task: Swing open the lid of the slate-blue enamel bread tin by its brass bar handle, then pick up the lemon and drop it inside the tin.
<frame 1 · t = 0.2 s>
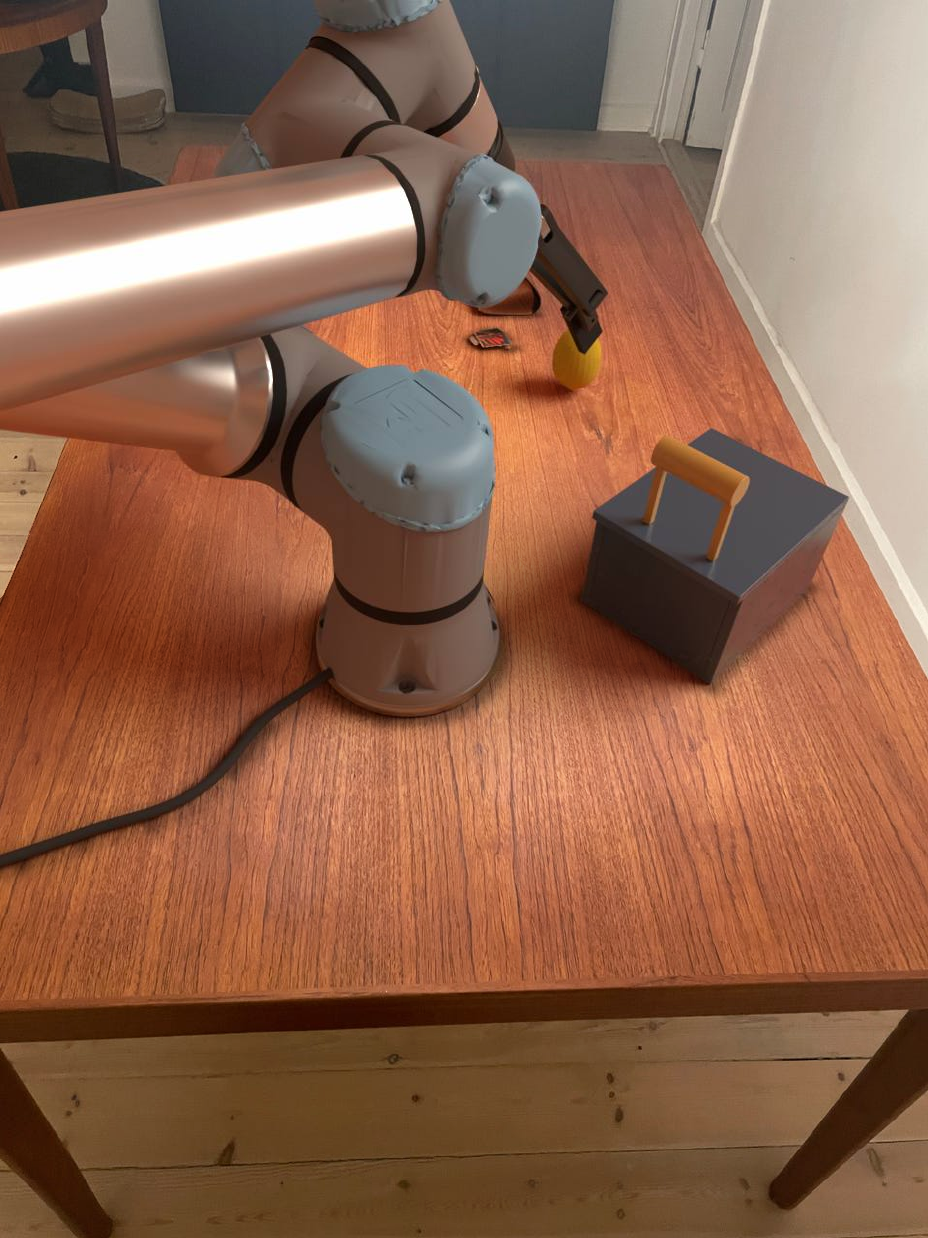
hand: (536, 313, 87), 15 cm above the table, tool tilted 35°, fingers open, 13 cm apart
lemon: (571, 391, 106), on the table
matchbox: (489, 341, 113), on the table
tin lid: (735, 468, 72), point 14 cm above the table, hinge at 0.0°
sunglasses case: (494, 285, 124), on the table
tin: (696, 594, 83), on the table
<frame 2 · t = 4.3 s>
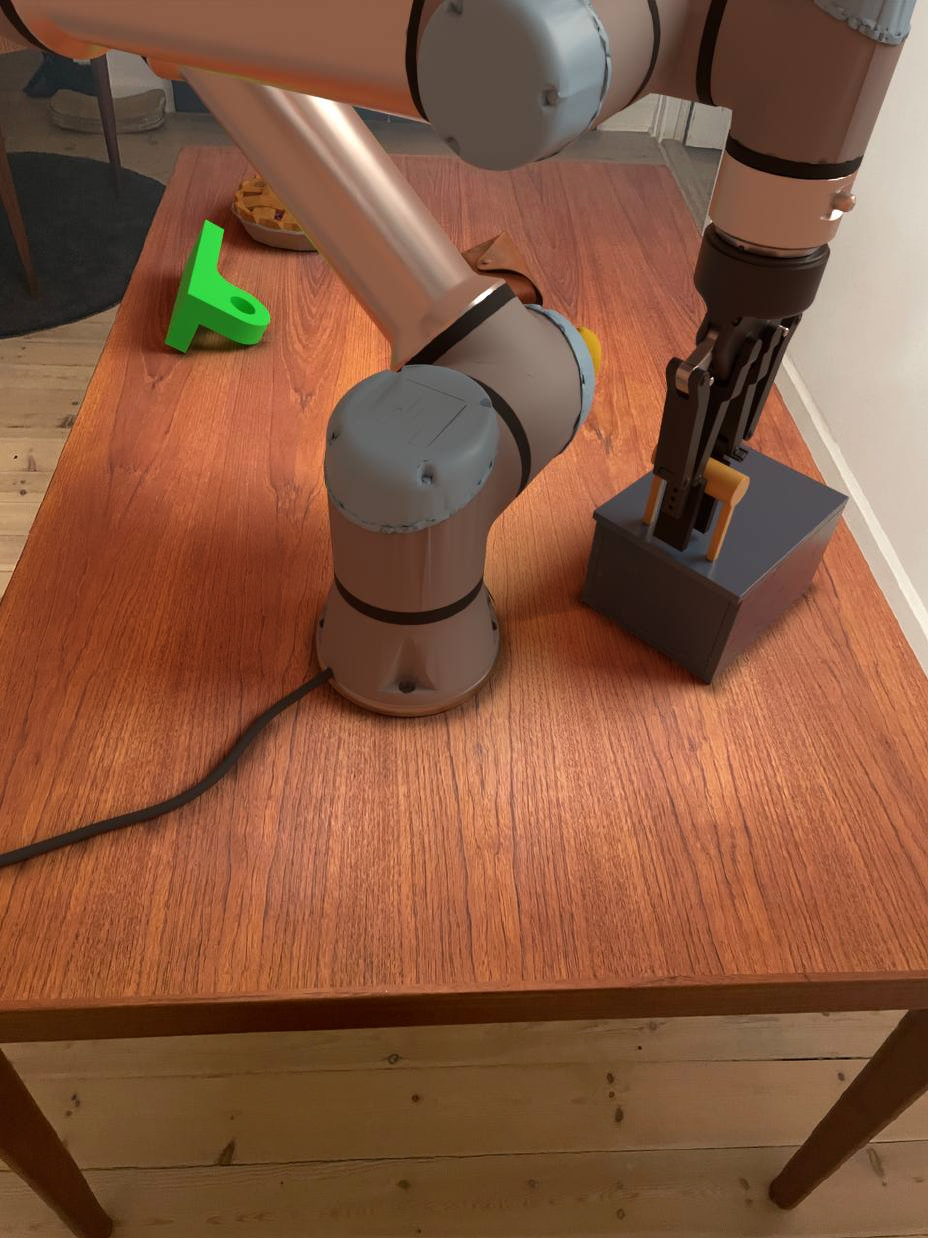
hand: (681, 532, 71), 12 cm above the table, tool pointing down, fingers closed on tin lid, 2 cm apart
tin lid: (735, 468, 72), point 14 cm above the table, hinge at 0.0°, touching gripper
everything else where it was.
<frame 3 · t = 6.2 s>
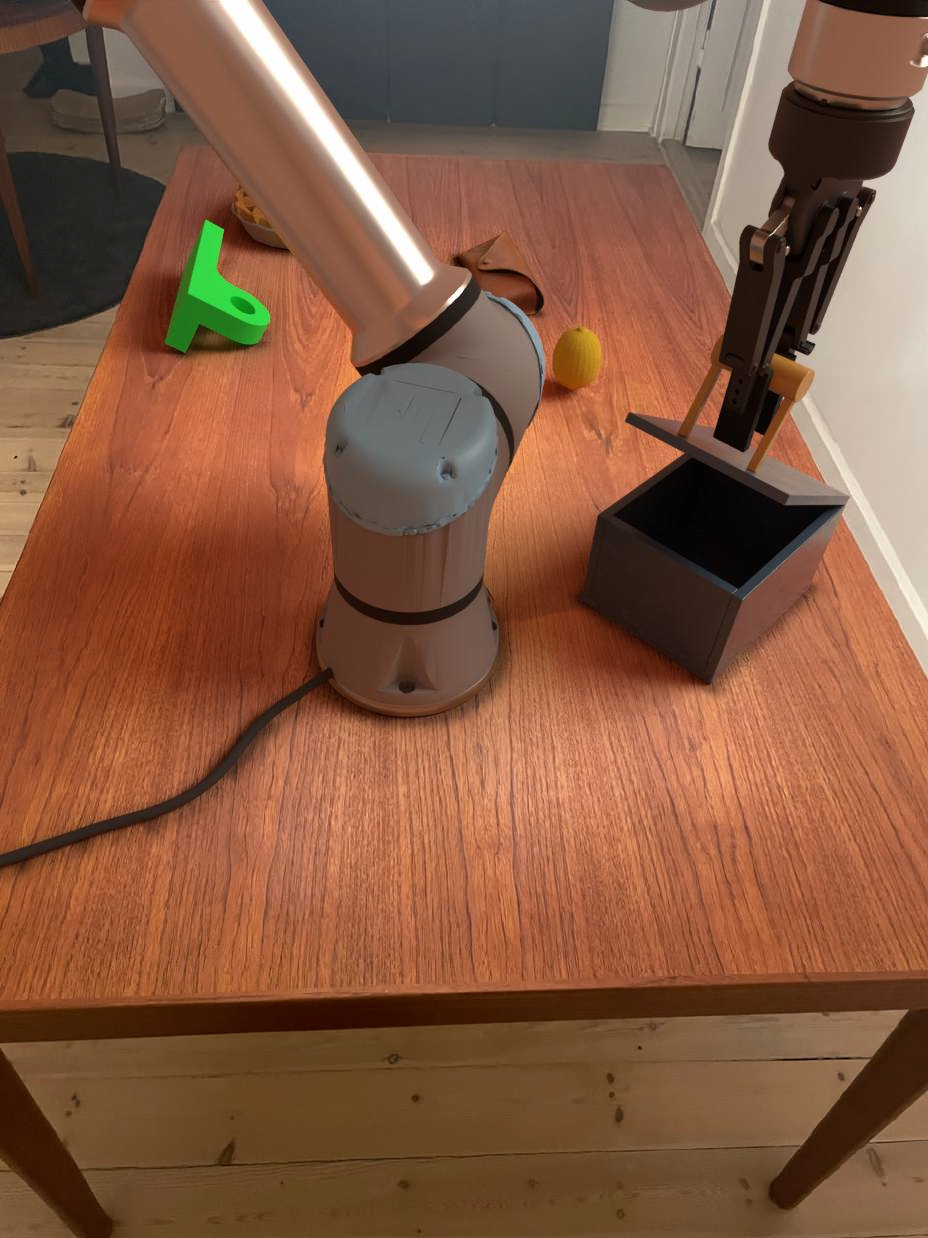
hand: (741, 434, 69), 18 cm above the table, tool pointing down, fingers closed on tin lid, 2 cm apart
tin lid: (767, 414, 71), point 18 cm above the table, hinge at 28.5°, touching gripper
everything else where it was.
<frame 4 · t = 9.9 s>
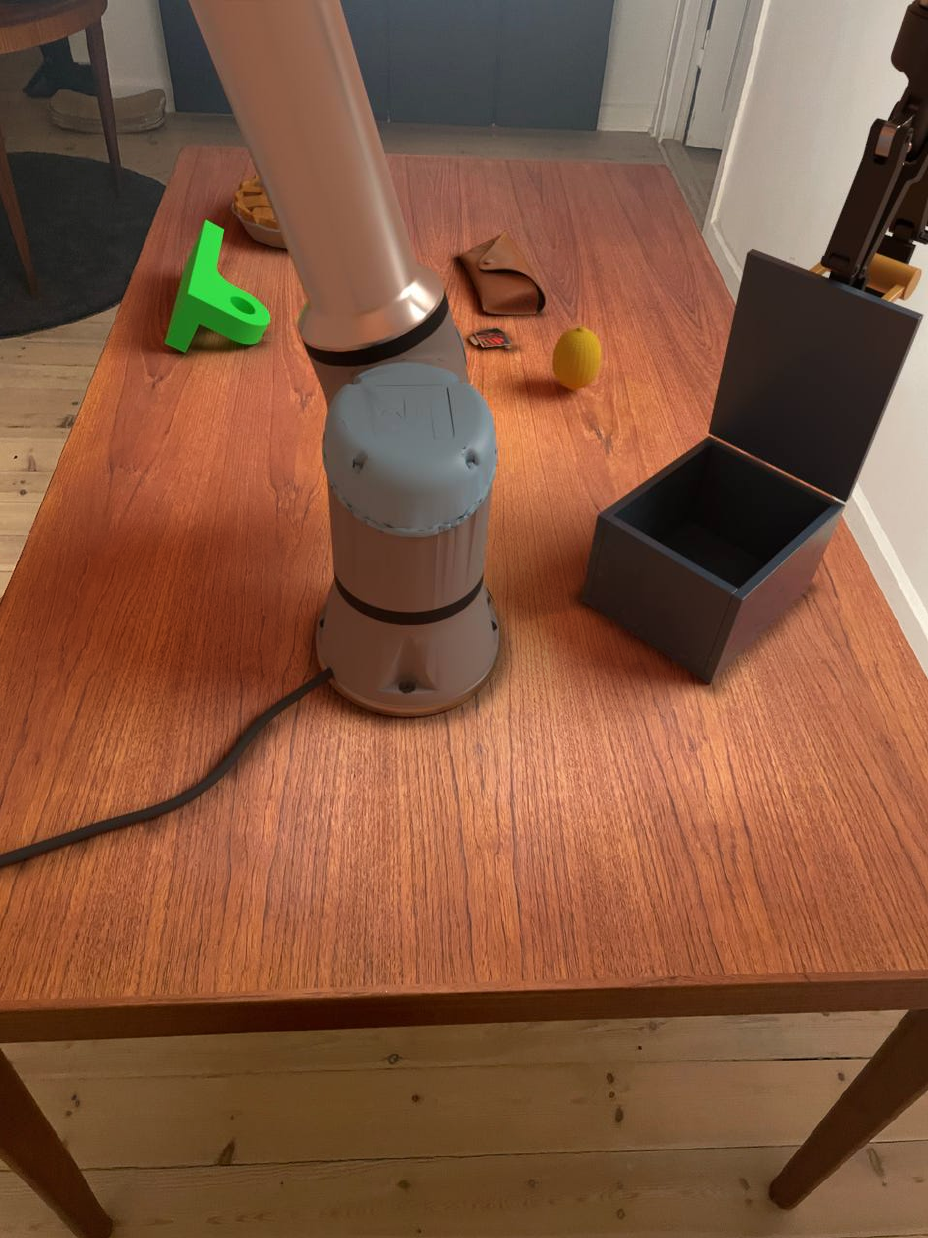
hand: (846, 332, 75), 21 cm above the table, tool pointing down, fingers open, 7 cm apart
tin lid: (826, 359, 75), point 20 cm above the table, hinge at 82.3°, touching gripper
everything else where it was.
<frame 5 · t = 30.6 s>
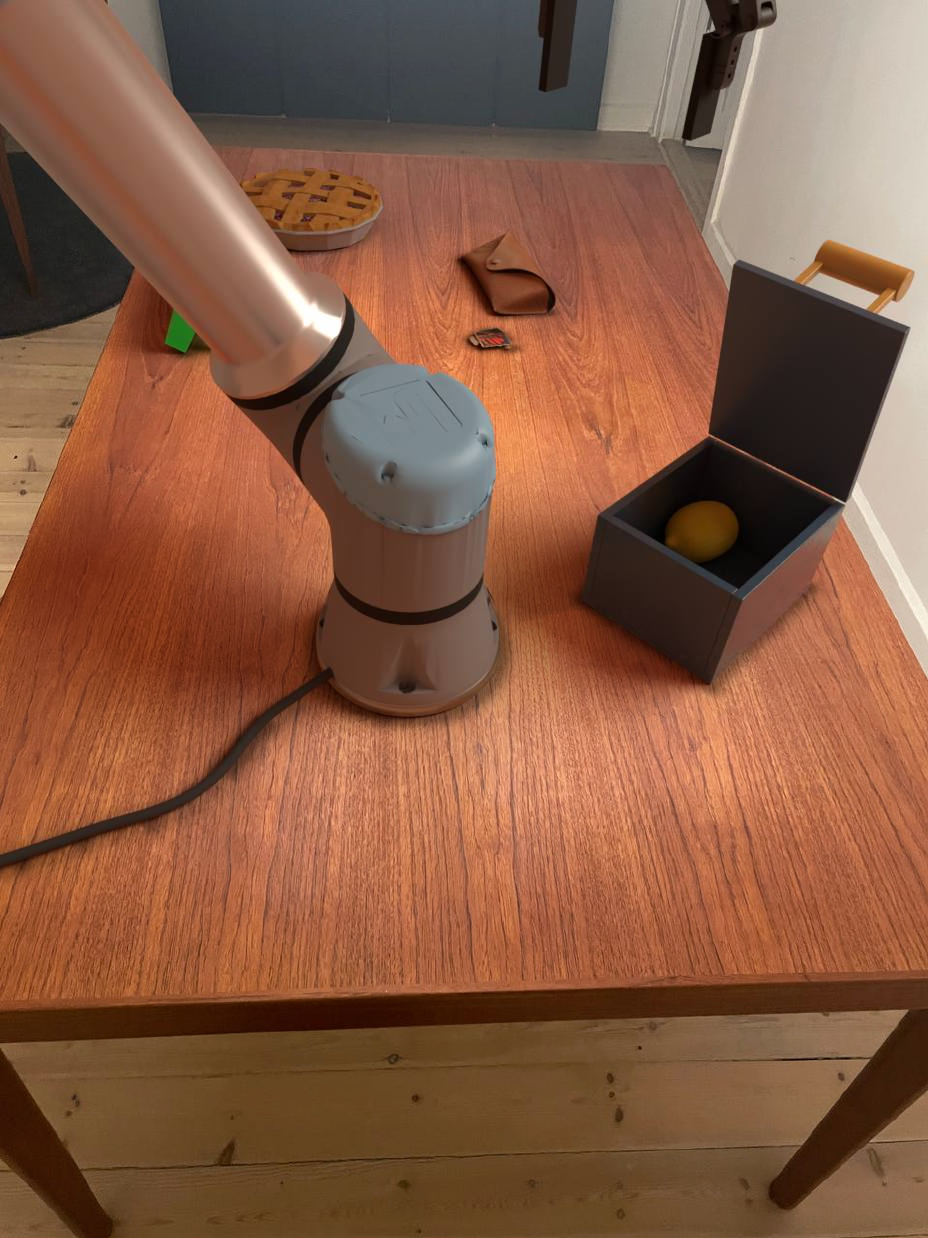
hand: (621, 111, 69), 35 cm above the table, tool pointing down, fingers open, 13 cm apart
lemon: (664, 544, 82), point 4 cm above the table, touching tin
tin lid: (822, 360, 74), point 20 cm above the table, hinge at 76.4°
at the end: tin lid at +76° (first picture: +0°); lemon inside the target area in the tin (4.2 cm from its centre), point 3.6 cm above the tin's base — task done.
